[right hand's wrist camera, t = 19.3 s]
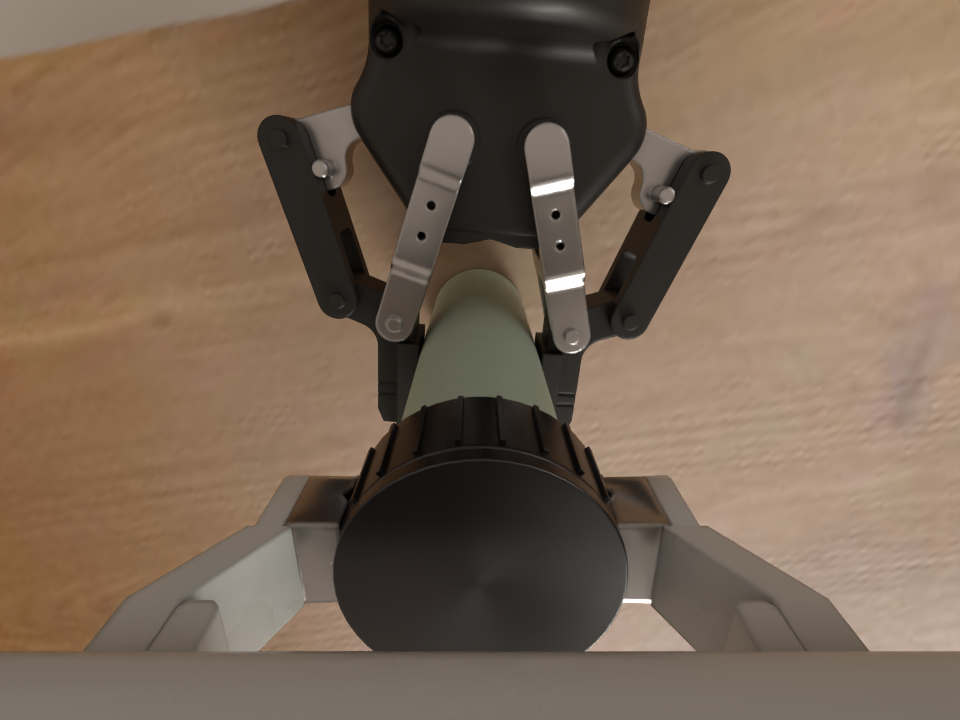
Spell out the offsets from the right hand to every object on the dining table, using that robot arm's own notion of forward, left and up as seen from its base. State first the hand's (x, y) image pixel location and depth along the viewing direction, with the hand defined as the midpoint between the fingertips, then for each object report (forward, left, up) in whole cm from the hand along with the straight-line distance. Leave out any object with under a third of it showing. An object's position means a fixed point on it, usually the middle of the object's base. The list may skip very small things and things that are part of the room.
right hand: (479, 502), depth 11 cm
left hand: (-2, -2, -8) cm, 8 cm away
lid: (0, 0, +2) cm, 2 cm away
